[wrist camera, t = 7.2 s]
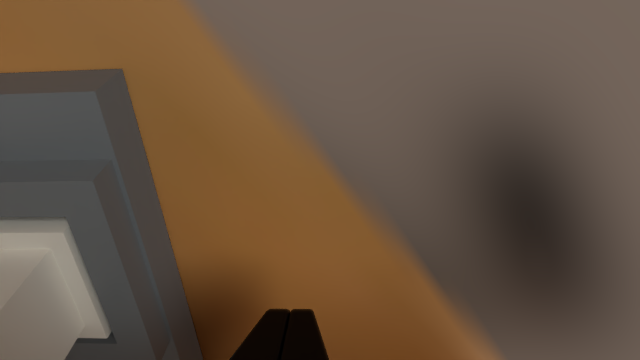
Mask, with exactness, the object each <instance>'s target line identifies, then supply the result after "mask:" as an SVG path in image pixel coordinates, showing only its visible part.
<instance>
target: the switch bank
mask: <svg viewBox="0 0 640 360" xmlns="http://www.w3.org/2000/svg"><path fill="white" fill-rule="evenodd" d="M0 217H66V219H67V222H68V224H69V227H70V229H71V232H72V234H73V237H74V239H75V242H76V244H77V246H78V249H79V251H80V254H81V256H82V259H83V261H84V264H85V266H86V269H87V271H88V273H89V276H90V278H91V281H92V283H93V286H94V288H95V291H96V293H97V296H98V298H99V300H100V303H101V305H102V308H103V310H104V313H105V315H106V318H107V320H108V323H109V325H110V328H111V330H112V331H111V333H110V335H109V336H108V338H77V340H76V341H75V343H74V345H73V346H72V348H71V350H70V351H69V353H68V355H67V356H66V358H65V360H203V357H202V353H201V350H200V346H199V343H198V339H197V336H196V332H195V328H194V325H193V321H192V318H191V314H190V310H189V307H188V303H187V300H186V296H185V293H184V289H183V285H182V282H181V278H180V275H179V271H178V268H177V264H176V260H175V257H174V253H173V250H172V246H171V242H170V239H169V235H168V232H167V228H166V225H165V221H164V217H163V214H162V210H161V207H160V203H159V199H158V196H157V192H156V189H155V185H154V182H153V178H152V174H151V171H150V167H149V164H148V160H147V156H146V153H145V149H144V146H143V142H142V139H141V135H140V131H139V128H138V124H137V121H136V117H135V113H134V110H133V106H132V103H131V99H130V96H129V92H128V88H127V85H126V81H125V78H124V74H123V71H122V69H106V70H78V71H51V72H24V73H0Z"/></svg>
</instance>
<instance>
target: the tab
mask: <svg viewBox="0 0 640 360" xmlns="http://www.w3.org/2000/svg"><path fill="white" fill-rule="evenodd" d="M111 331H112V330H111V328H110V325H109V323H108V320H107V318H106V315H105V313H104V310H103V308H102V305H101V303H100V300H99V298H98V296H97V293H96V291H95V288H94V286H93V283H92V281H91V278H90V276H89V273H88V271H87V269H86V266H85V264H84V261H83V259H82V256H81V254H80V251H79V249H78V246H77V244H76V242H75V239H74V237H73V234H72V232H71V229H70V227H69V224H68V222H67V219H66V217H0V360H65V358H66V356H67V355H68V353H69V351H70V350H71V348H72V346H73V345H74V343H75V341H76V340H77V338H108V336H109V335H110V333H111Z"/></svg>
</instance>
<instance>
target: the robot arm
mask: <svg viewBox="0 0 640 360" xmlns="http://www.w3.org/2000/svg"><path fill="white" fill-rule="evenodd" d="M229 360H329V358H328V355H327V352H326V349H325V346H324V343H323V340H322V336H321V333H320V330H319V327H318V324H317V321H316V318H315V315H314V312H313V311H312V310H311V309H293V310H292V311H291V312H290V310H288V309H269V310H267V311H266V312H265V314H264V315H263V316H262V318H261V319H260V320H259V322H258V323H257V324H256V326H255V327H254V328H253V329H252V331H251V332H250V333H249V335H248V336H247V337H246V339H245V340H244V341H243V342H242V344H241V345H240V346H239V348H238V349H237V350H236V352H235V353H234V354H233V356H232V357H231V358H230V359H229Z"/></svg>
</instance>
